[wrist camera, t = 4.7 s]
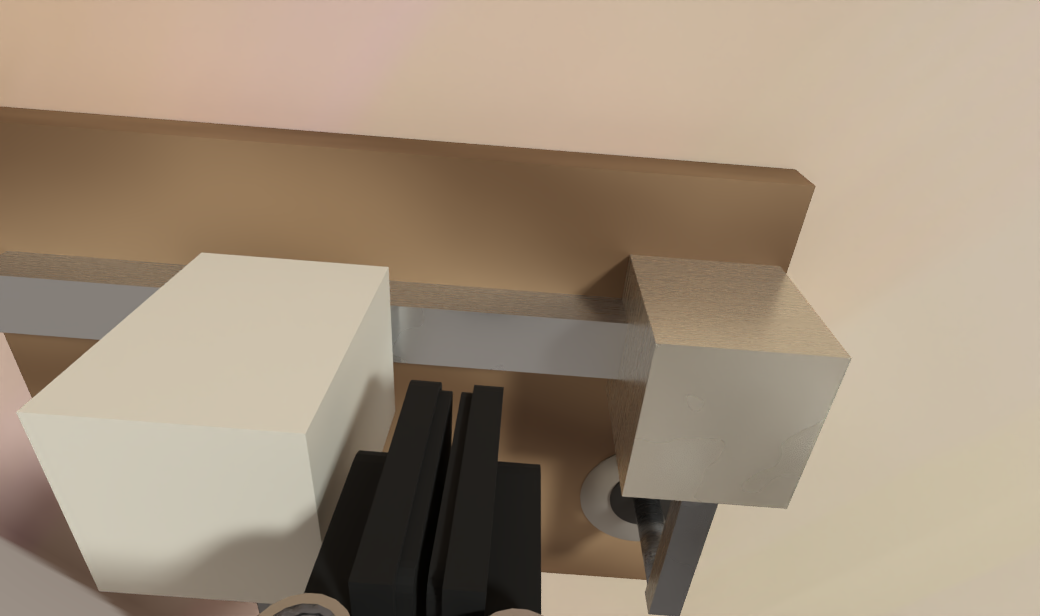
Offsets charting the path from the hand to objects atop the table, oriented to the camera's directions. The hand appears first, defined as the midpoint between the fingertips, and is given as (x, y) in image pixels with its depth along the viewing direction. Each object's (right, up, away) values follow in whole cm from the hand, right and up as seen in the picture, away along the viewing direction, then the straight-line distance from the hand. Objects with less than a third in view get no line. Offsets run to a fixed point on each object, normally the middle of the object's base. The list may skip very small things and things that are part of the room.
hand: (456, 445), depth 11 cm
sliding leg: (-4, 0, +5) cm, 6 cm away
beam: (-2, +1, +5) cm, 6 cm away
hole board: (-3, +1, +7) cm, 7 cm away
